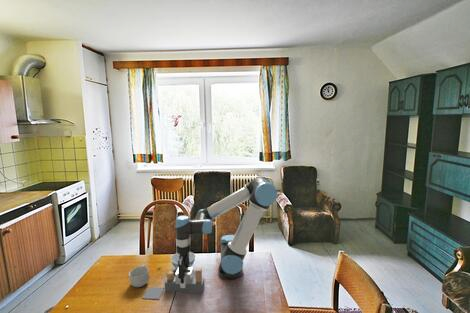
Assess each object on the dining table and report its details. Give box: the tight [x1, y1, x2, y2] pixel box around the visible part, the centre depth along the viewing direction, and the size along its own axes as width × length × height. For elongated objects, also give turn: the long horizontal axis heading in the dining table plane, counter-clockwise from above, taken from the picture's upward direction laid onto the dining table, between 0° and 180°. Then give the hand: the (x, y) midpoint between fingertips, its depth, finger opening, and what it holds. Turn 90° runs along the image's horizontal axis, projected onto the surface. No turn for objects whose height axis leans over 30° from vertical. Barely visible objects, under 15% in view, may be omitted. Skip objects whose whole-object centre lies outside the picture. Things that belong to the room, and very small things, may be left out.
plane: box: [164, 267, 205, 294], centre depth 142 cm, size 21×6×12 cm, turn 86°
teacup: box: [128, 264, 150, 288], centre depth 148 cm, size 14×11×8 cm
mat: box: [141, 286, 165, 300], centre depth 139 cm, size 9×9×1 cm
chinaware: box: [170, 251, 196, 270], centre depth 162 cm, size 15×15×8 cm
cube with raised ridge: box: [174, 266, 194, 284], centre depth 142 cm, size 8×6×7 cm
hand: (184, 283), depth 143 cm, fingers closed on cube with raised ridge, 6 cm apart
